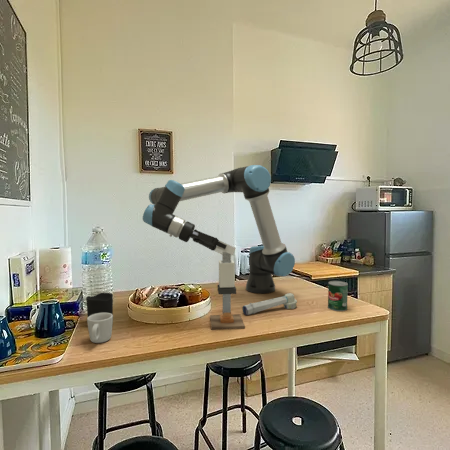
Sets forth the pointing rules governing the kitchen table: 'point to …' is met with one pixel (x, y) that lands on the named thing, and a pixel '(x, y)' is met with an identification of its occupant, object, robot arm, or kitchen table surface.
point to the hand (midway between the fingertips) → (232, 253)
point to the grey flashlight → (270, 304)
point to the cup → (100, 327)
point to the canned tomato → (337, 295)
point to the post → (226, 296)
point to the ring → (226, 290)
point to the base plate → (218, 325)
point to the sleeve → (226, 274)
